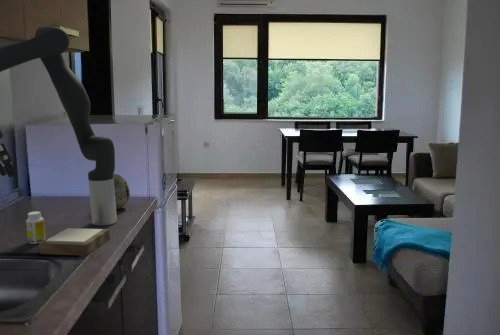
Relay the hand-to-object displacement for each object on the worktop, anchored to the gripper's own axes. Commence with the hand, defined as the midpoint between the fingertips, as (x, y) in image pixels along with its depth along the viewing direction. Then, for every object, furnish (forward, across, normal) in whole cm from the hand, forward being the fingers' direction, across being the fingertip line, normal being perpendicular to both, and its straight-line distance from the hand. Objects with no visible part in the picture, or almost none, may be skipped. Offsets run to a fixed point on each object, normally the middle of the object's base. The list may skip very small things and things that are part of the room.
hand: (8, 175), depth 151 cm
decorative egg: (+37, +31, -39) cm, 62 cm away
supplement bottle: (+26, +10, 0) cm, 28 cm away
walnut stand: (+30, -4, -8) cm, 31 cm away
